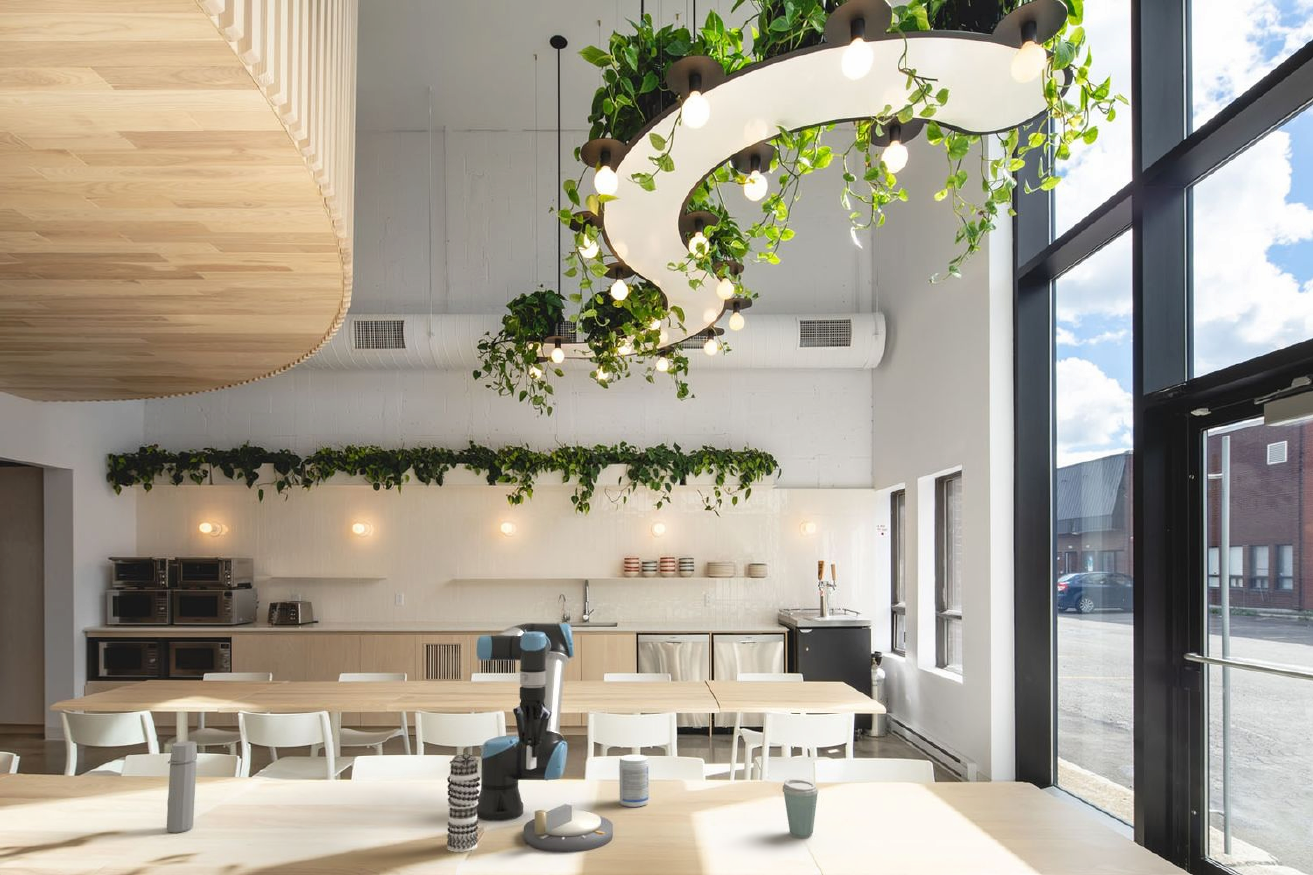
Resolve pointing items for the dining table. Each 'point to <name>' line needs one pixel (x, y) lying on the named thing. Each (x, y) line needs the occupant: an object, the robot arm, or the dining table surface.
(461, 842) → the decorative candle
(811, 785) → the disposable coffee cup
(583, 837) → the dial base
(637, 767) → the supplement tub
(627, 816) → the dining table surface
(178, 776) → the water bottle
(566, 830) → the dial
